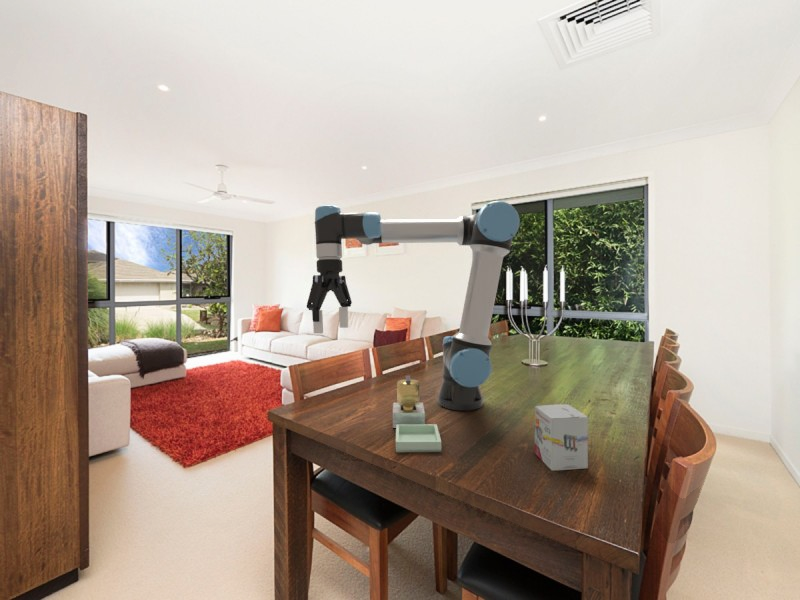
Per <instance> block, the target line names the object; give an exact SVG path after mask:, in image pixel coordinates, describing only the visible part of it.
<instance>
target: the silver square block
mask: <svg viewBox="0 0 800 600" xmlns="http://www.w3.org/2000/svg"><path fill="white" fill-rule="evenodd" d="M396 424H426V412H425V407H424V403H423V402H419V404H418V405H415V406H413V410H403V406H402V405H399V404H398V403H397V402H393V403H392V429H393V428H396Z"/></svg>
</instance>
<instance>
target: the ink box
mask: <svg viewBox="0 0 800 600" xmlns="http://www.w3.org/2000/svg"><path fill="white" fill-rule="evenodd" d="M534 414H535V415H534V454H535V455H536V456H537V457H538V458H539V459H540V461H542V462H543V463H544V464H545V465H546V466H547V468H549V469H550V470H551V471H552V472H553V471H554V472H555V471H565V470H566V471H567V470H568V471H569V470H580V469H581V470H583V469H588V466H589V464H588V462H589V459H588V456H589V455H588V453H589V452H588V450H589V441H588V440H589V416H587V415H586V414H584V413H583V412H581V411H579V410H578V409H576V408H575V407H573V406H571V405H570V404H562V403H558V404H555V403H554V404H545V405H535V406H534Z"/></svg>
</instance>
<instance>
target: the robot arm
mask: <svg viewBox="0 0 800 600" xmlns="http://www.w3.org/2000/svg"><path fill="white" fill-rule="evenodd" d="M314 211H315V212H314V215H315V216H314V227H315V228H314V229H315V232H314V233H315V247H316V248H315V252H316V258H317V261H316V272H317V273H318V274H316V275H315V274H313V276H312V283H311V288H310V292H309V295H308V299H307V303H306V308H307V309H308V311H311V312H312V313H311V314H312V323H313V325H312V326H313V327H312V328H313V334H324V321H323V320H324V319H323V310H322V307H323V303H324V301H325V299H326V296H328V293H329V292H332V293H333V294H334V296H335V298H336V300H337V302H338V304H339V307H338V313H339V314H338V317H339V319H338V320H339V328H343V329H344V328H346V329H348V328H349V308H350V307H351V306H352V303H353V302H352V298H351V295H350V292H349V288H348V285H347V281H346V279H347V277H346V275H340V273H342V272H343V261H342V259H341V258H343V249H342V248H343V247H342V240H343V239H345V240H348V239H349V240H353V239H355V240H357V241H358V242H359V243H360V244H361V245H365V246H368V245H370V246H371V245H372V244H404V243H405V244H407V243H408V244H410V243H411V244H413V243H417V244H419V243H421V244H422V243H425V244H427V243H456V244H458V245H459V246H469V247H470V249H471V250H472V252H473V256H472V262H471V267H470V271H469V272H470V273H469V278H468V283H467V288H466V294H465V297H464V298H465V299H464V303H463V308H462V313H461V320H460V324H459V330H458V332H456V333H455V334H453V335H451V336H450V335H449V336H448V335H447V336H445V337H443V340H442V382H441V385H440V387H439V391H438V393H437V394H438V395H437V405H439V406H440V405H441V406H440V407H442V406H443V407H442V408H444V407H445V409H448V410H453V411H462V412H463V411H465V412H466V411H474V410H478V409H480V408H482V407H483V406H484V398H483V394H482V390H481V388H480V386H481V385H482V384H484V383H486V381H487V380H489V378H490V375H491V374H492V362H491V359H490V356H491V352H492V351H491V350H492V347H493V345H492V344H493V343H492V342H491V340H490V338H489V333H490V329H491V323H492V317H493V313H494V306H495V302H496V301H495V300H496V296H497V291H498V288H499V287H498V286H499V282H500V276H501V272H502V271H501V270H502V266H503V260H504V257H505V256H507V255H508V254H509V253H511V252H510V251H511V247H512V242H513V238H514V237H515V236H516V235H517V232H518V231H519V228H520V225H521V224H520V223H521V222H520V219H521V218H520V216H519V212H518V211H517V209H516V208H515V206H513V205H511V204H510V203H509V202H507V201H502V200H495V201H491V202H488V203H486V204H485V205H483V206H482V207H481V208H480V209H479V210H478V212H476V213H475V214H470V215H460V216H459V217H458V218H450V219H449V218H445V219H438V218H437V219H435V218H434V219H385V220H384V219H381V215H380V213H379V212H371V211H367V212H366V211H365V212H348V213H347V212H346V213H345V212H344V213H343V212H342V211H341V208H340V207H339V206H337V205H329V204H327V205H319V206H317V207H316V208H315V210H314Z"/></svg>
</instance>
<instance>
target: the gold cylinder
mask: <svg viewBox="0 0 800 600" xmlns="http://www.w3.org/2000/svg"><path fill="white" fill-rule="evenodd" d="M396 385H397V387H396V388H397V391H396V393H397V395H396V396H397V397H396V399H397V402H396V403H398V404H399V405H402V406H403V410H413V406H415V405H418V404H419V403H420V381H419V380H418V379H417V380H416V379H412V378H411V375H405V379H399V380H397V382H396Z"/></svg>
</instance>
